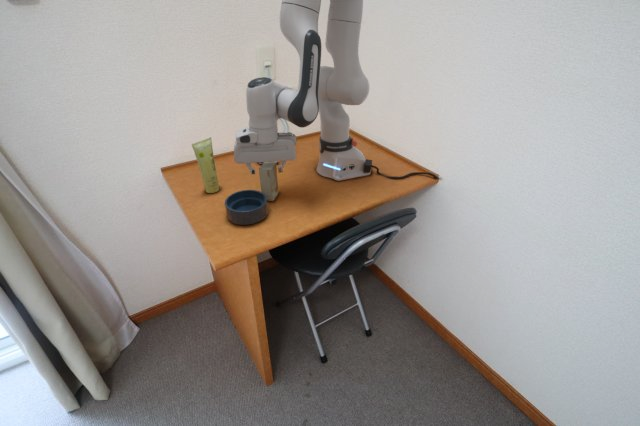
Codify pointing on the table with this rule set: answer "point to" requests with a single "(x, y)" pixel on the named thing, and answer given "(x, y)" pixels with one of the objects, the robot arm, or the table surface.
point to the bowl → (246, 207)
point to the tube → (206, 164)
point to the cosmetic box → (269, 180)
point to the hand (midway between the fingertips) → (266, 172)
